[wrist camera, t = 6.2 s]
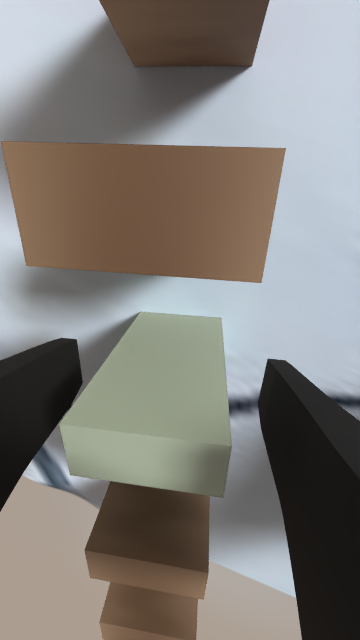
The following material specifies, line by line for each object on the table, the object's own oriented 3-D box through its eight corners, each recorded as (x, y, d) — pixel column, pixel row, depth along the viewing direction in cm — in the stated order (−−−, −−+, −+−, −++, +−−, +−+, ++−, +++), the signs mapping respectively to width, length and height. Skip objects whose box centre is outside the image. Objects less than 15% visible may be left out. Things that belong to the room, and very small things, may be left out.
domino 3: (210, 406, 14) (208, 572, 8) (207, 429, 15) (203, 599, 8) (142, 398, 15) (84, 550, 8) (142, 421, 15) (90, 577, 9)
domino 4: (202, 470, 16) (196, 642, 10) (200, 488, 17) (193, 658, 11) (143, 462, 17) (99, 621, 10) (144, 479, 18) (102, 639, 11)
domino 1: (236, 190, 10) (285, 148, 3) (231, 238, 11) (261, 282, 4) (137, 186, 10) (1, 141, 4) (138, 233, 11) (26, 266, 4)
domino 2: (221, 318, 12) (231, 445, 5) (217, 350, 13) (223, 497, 6) (140, 311, 12) (58, 424, 6) (141, 343, 13) (70, 475, 7)
